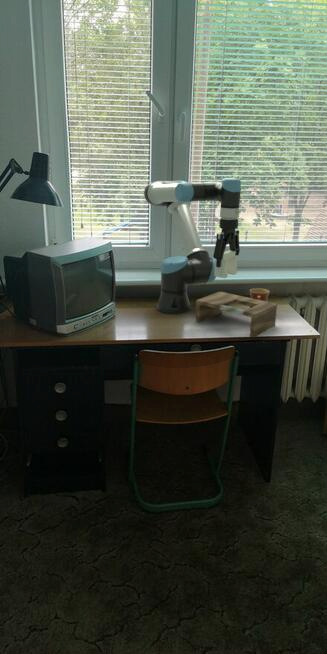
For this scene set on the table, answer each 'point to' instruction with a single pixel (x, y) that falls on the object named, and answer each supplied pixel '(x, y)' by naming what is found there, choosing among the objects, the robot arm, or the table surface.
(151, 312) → the table surface
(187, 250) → the robot arm
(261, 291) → the mug
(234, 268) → the white plastic block
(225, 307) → the shelf
